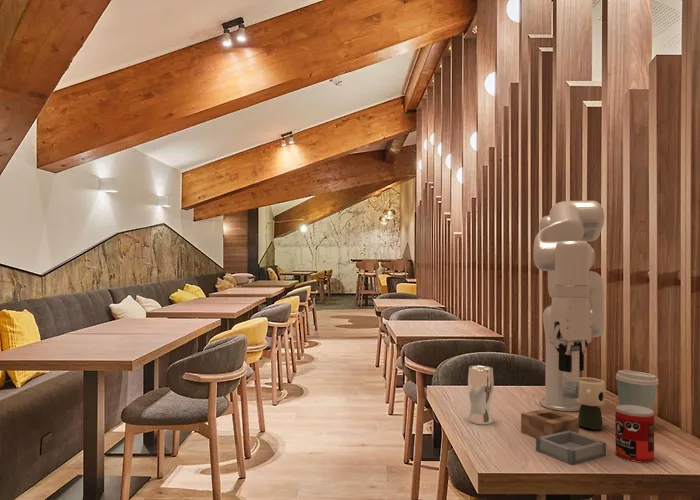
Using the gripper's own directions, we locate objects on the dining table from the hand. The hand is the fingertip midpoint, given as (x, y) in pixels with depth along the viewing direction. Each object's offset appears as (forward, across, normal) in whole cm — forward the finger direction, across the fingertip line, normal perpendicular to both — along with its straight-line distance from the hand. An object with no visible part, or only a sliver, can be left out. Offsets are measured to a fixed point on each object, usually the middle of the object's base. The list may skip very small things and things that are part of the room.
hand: (571, 369), depth 124 cm
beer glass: (+20, +2, -28) cm, 34 cm away
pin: (+6, 0, 0) cm, 6 cm away
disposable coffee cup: (+20, -34, -5) cm, 40 cm away
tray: (+20, 0, 0) cm, 20 cm away
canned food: (+20, -12, +8) cm, 25 cm away
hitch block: (+20, -6, -11) cm, 23 cm away
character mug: (+20, -21, -10) cm, 31 cm away
